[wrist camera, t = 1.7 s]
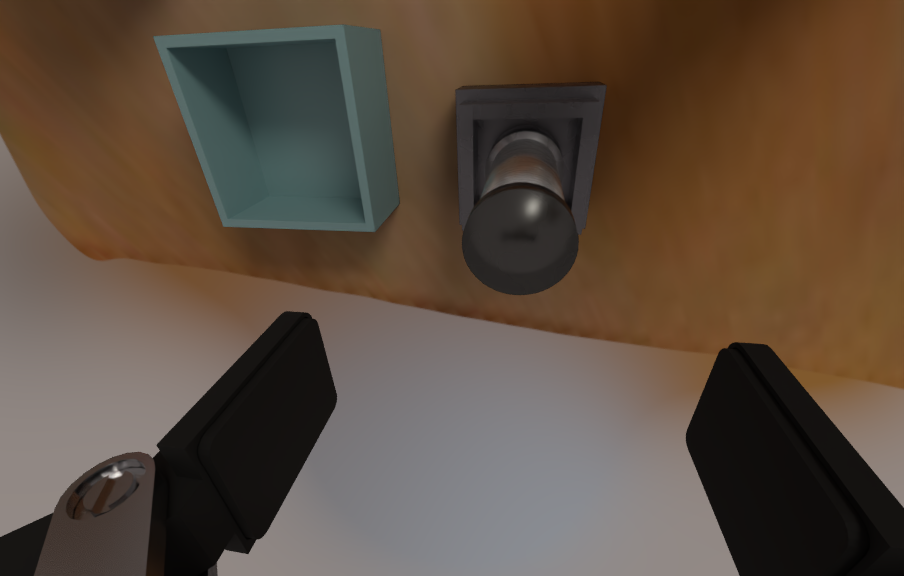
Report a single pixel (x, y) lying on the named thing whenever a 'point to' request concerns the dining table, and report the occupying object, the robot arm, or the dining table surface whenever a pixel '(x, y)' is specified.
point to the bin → (289, 124)
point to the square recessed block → (544, 105)
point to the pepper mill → (521, 216)
